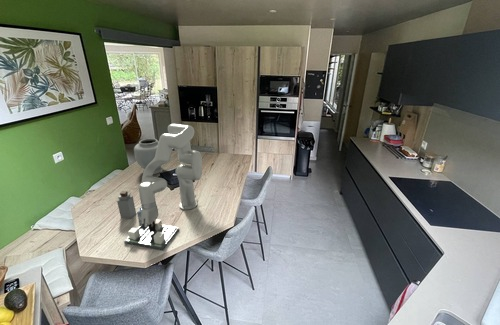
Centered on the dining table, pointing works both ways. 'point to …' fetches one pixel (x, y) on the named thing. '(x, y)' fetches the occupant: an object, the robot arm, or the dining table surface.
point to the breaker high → (159, 237)
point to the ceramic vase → (146, 153)
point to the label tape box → (139, 216)
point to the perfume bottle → (126, 205)
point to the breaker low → (133, 233)
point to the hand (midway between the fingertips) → (152, 230)
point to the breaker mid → (158, 224)
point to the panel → (148, 237)
